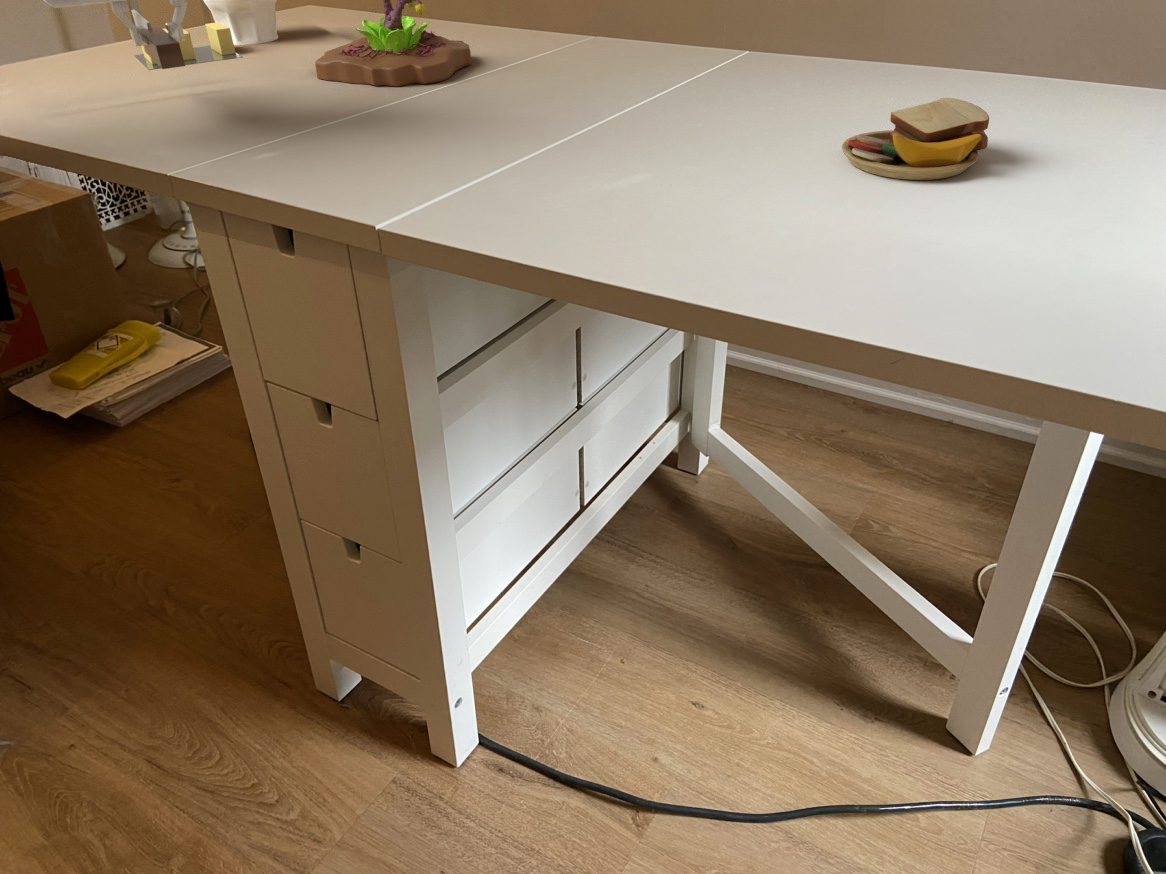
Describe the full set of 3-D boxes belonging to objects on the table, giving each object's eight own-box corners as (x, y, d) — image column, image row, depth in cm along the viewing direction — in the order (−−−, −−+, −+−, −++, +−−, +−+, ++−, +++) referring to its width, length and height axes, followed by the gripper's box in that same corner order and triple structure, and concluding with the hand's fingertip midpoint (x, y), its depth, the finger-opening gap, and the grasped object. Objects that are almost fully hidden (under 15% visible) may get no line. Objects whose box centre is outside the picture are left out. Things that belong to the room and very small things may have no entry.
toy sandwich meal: (823, 145, 89) (829, 97, 87) (951, 139, 90) (961, 91, 88) (867, 187, 79) (875, 133, 76) (1010, 179, 80) (1024, 126, 77)
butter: (152, 64, 124) (144, 38, 122) (144, 57, 128) (137, 31, 126) (196, 59, 126) (189, 32, 124) (187, 52, 131) (180, 26, 129)
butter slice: (222, 55, 128) (215, 29, 126) (211, 48, 132) (204, 23, 130) (235, 53, 129) (229, 27, 127) (224, 47, 133) (218, 22, 131)
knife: (185, 66, 95) (177, 36, 94) (162, 69, 94) (153, 39, 93) (150, 34, 109) (143, 8, 108) (130, 37, 108) (122, 10, 107)
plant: (366, 51, 133) (353, -32, 126) (486, 56, 128) (480, -30, 122) (296, 83, 117) (278, -10, 111) (431, 89, 113) (420, -7, 106)
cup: (291, 50, 135) (275, -31, 128) (206, 56, 132) (185, -26, 126) (294, 35, 145) (279, -41, 138) (215, 40, 142) (196, -36, 136)
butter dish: (151, 77, 122) (148, 69, 121) (135, 62, 130) (133, 55, 130) (245, 64, 127) (243, 56, 127) (224, 50, 136) (223, 43, 135)
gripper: (7, -95, 83) (61, 61, 91) (226, -108, 92) (258, 35, 100) (2, -98, 87) (54, 51, 95) (212, -110, 96) (243, 27, 104)
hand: (160, 42), depth 97 cm, fingers closed on knife, 2 cm apart
